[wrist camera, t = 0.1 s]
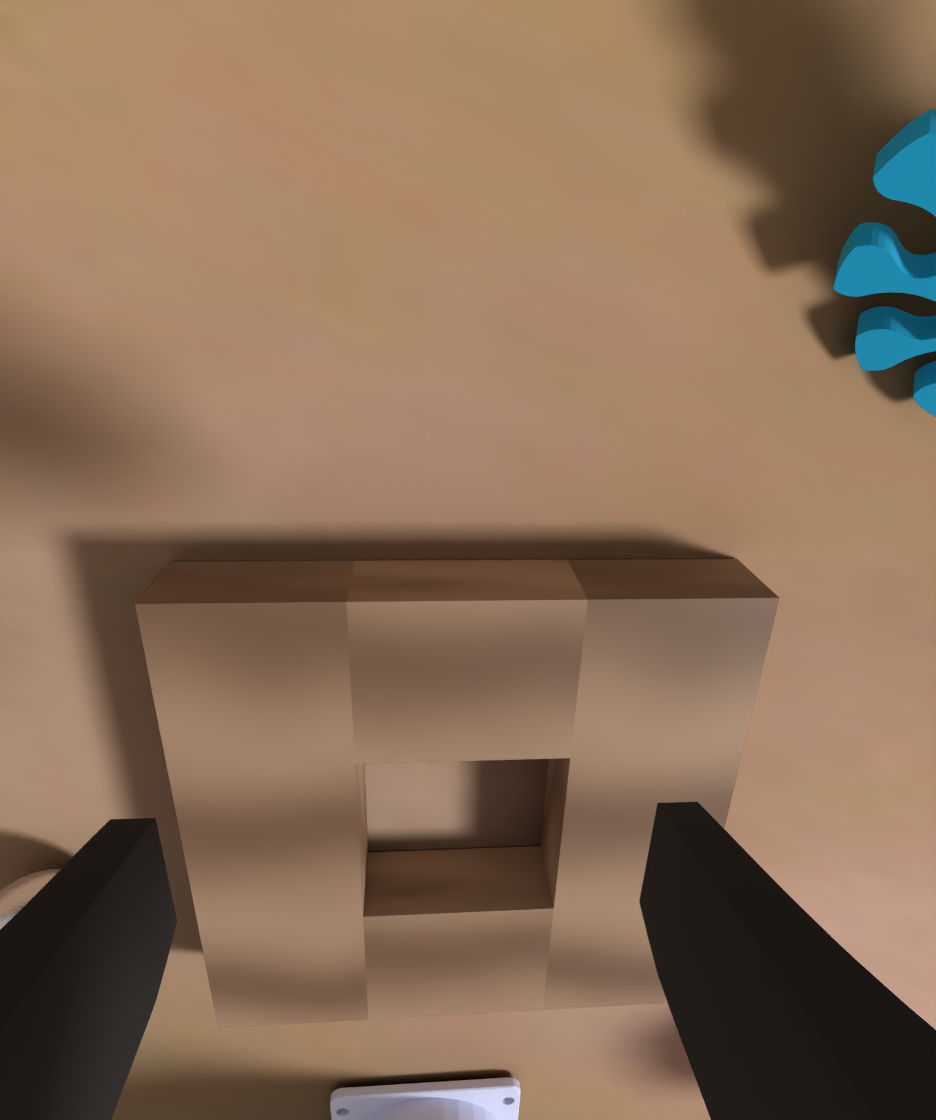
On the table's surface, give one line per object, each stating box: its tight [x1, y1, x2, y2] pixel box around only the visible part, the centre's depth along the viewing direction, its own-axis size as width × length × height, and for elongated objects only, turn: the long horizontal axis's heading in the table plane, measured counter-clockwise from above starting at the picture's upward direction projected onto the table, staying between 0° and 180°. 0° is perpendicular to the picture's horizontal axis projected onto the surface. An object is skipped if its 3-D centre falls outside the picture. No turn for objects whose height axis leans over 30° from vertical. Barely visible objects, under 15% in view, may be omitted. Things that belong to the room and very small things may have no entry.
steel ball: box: [0, 869, 60, 929], centre depth 21 cm, size 4×4×4 cm
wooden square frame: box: [135, 559, 779, 1028], centre depth 21 cm, size 16×16×2 cm
